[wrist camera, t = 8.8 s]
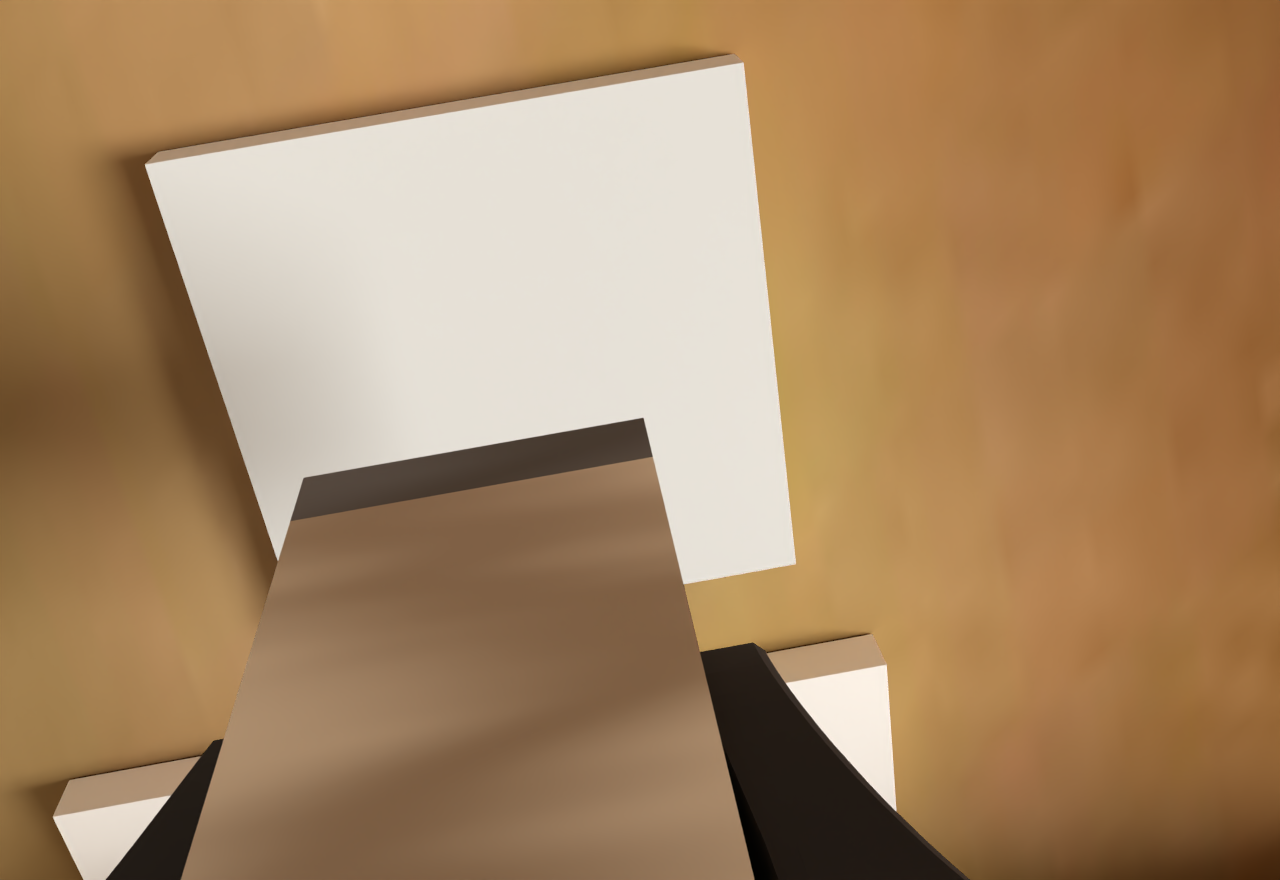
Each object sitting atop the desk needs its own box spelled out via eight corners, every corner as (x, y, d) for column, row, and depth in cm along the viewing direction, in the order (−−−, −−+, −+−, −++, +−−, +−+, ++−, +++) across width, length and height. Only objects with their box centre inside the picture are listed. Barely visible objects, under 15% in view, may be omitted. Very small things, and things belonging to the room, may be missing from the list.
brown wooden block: (643, 417, 14) (825, 1170, 6) (687, 687, 16) (870, 1539, 8) (303, 477, 14) (46, 1321, 6) (385, 742, 16) (270, 1658, 8)
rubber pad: (734, 54, 19) (743, 62, 18) (786, 541, 23) (795, 564, 22) (158, 151, 19) (144, 164, 18) (314, 626, 23) (308, 652, 22)
